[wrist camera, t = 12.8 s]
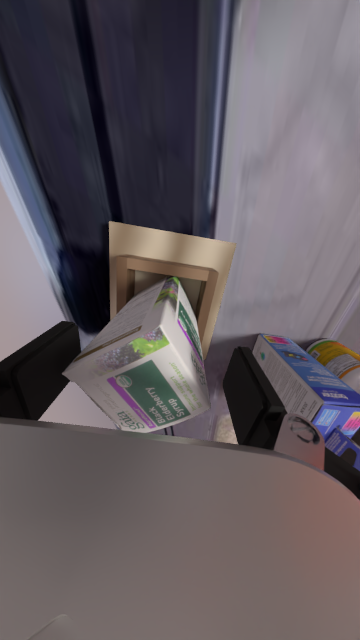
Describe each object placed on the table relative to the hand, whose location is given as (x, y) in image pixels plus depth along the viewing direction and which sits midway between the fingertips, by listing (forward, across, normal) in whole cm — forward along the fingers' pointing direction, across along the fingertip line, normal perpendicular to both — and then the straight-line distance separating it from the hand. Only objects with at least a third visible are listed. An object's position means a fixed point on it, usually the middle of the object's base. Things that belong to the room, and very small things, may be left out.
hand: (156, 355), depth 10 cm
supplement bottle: (+14, -24, +6) cm, 29 cm away
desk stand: (+14, 0, +1) cm, 14 cm away
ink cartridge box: (+14, -16, +9) cm, 23 cm away
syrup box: (+12, 0, +1) cm, 12 cm away
